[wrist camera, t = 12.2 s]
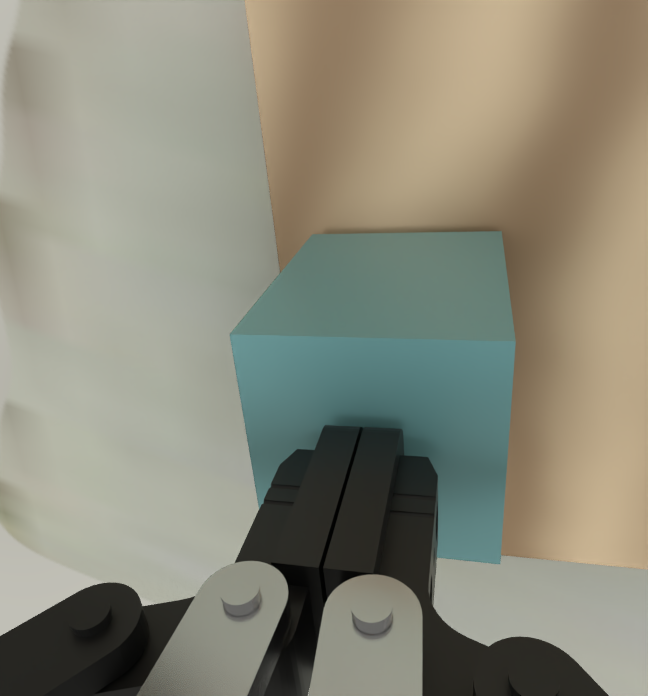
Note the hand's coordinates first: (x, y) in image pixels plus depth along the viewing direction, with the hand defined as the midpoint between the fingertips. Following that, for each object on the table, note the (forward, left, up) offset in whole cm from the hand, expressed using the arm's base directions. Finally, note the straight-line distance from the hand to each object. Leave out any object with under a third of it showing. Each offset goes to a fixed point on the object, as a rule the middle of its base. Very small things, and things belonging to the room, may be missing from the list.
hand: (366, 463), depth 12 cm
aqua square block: (0, 0, -7) cm, 7 cm away
